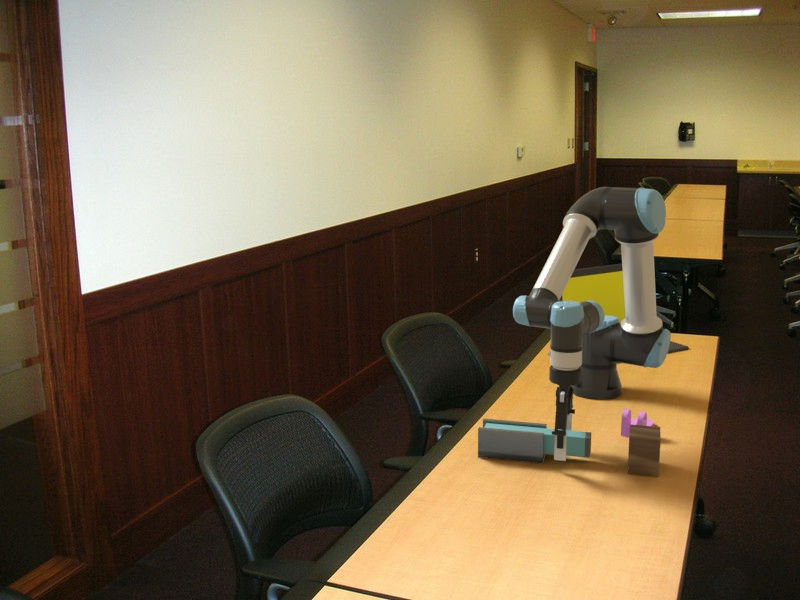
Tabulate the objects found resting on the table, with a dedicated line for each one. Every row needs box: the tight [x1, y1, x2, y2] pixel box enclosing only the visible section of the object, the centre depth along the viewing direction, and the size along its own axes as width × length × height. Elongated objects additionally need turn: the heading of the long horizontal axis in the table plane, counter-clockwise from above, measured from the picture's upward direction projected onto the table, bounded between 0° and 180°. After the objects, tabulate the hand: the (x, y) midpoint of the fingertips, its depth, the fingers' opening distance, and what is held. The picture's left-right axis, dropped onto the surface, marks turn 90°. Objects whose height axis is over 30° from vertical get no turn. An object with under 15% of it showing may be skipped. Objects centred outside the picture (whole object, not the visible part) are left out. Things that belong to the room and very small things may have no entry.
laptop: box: [560, 263, 690, 364], centre depth 301 cm, size 33×35×26 cm
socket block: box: [627, 424, 661, 478], centre depth 198 cm, size 9×7×9 cm
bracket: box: [620, 408, 655, 438], centre depth 222 cm, size 13×6×7 cm, turn 147°
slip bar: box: [484, 423, 592, 459], centre depth 205 cm, size 4×26×5 cm, turn 73°
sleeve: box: [477, 418, 548, 465], centre depth 207 cm, size 7×16×8 cm, turn 73°
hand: (562, 449), depth 204 cm, fingers open, 13 cm apart
